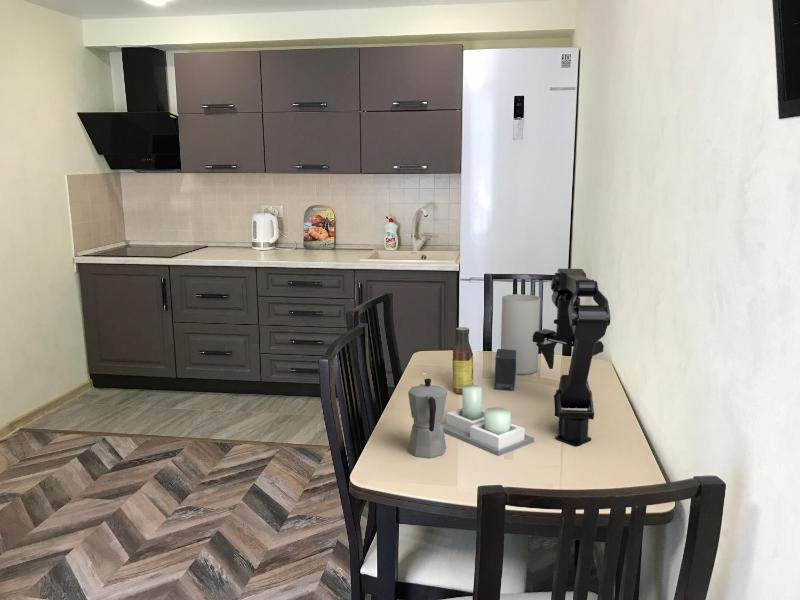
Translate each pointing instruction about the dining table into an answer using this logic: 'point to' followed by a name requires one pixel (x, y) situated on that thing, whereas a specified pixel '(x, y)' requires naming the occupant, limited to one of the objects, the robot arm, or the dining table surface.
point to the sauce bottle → (462, 361)
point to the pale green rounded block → (472, 402)
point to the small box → (505, 369)
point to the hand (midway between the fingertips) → (565, 372)
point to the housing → (488, 430)
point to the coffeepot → (427, 420)
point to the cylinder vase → (521, 330)
